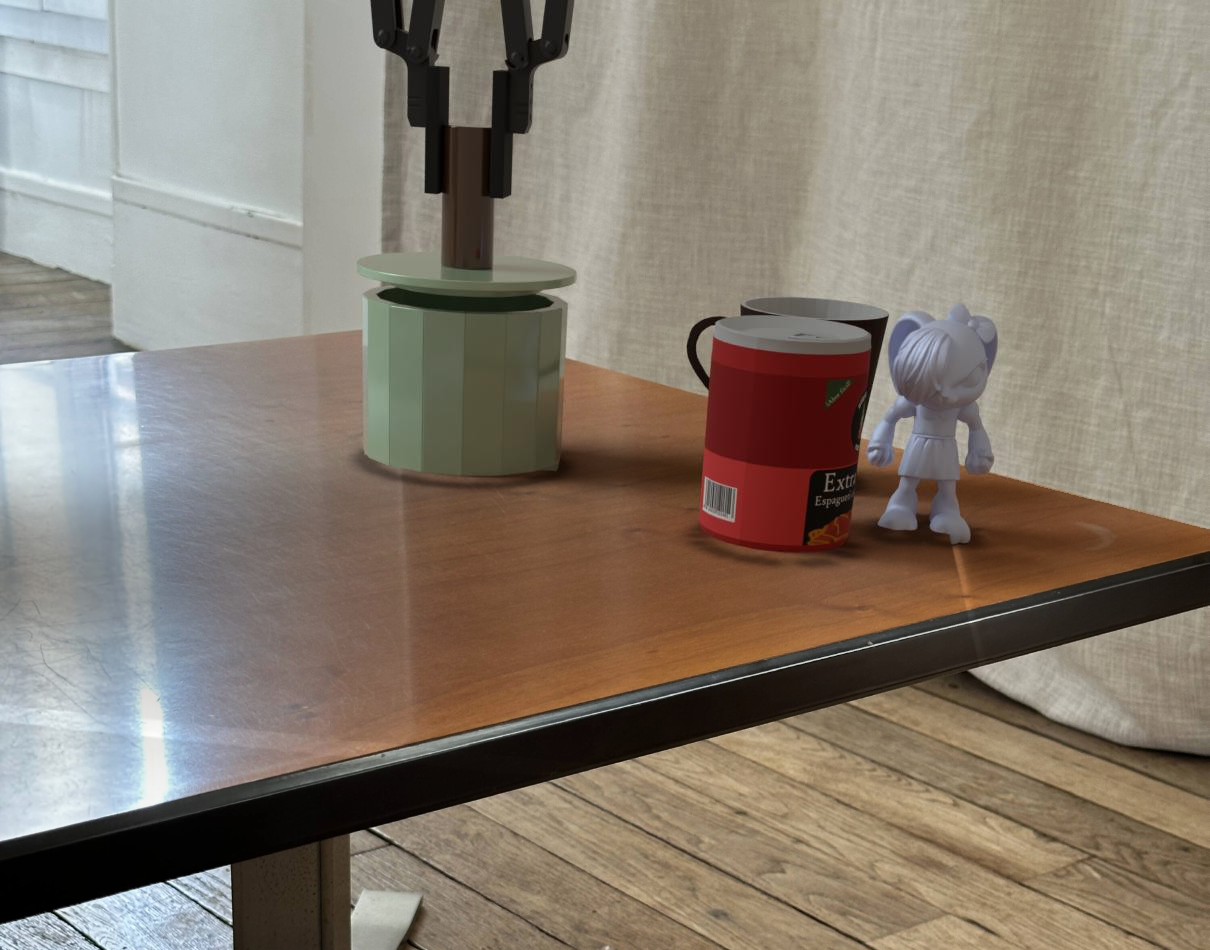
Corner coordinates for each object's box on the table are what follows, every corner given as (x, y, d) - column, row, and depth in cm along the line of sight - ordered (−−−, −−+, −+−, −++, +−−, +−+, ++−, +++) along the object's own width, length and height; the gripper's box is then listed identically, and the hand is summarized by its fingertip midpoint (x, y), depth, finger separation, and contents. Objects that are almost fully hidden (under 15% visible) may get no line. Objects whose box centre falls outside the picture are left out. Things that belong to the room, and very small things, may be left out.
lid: (330, 292, 93) (328, 123, 90) (385, 265, 105) (385, 114, 101) (558, 309, 92) (565, 138, 89) (589, 280, 104) (596, 127, 100)
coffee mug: (898, 488, 102) (920, 316, 98) (788, 502, 98) (806, 322, 94) (775, 446, 111) (790, 287, 107) (668, 457, 107) (679, 291, 102)
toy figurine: (858, 540, 91) (886, 308, 86) (857, 510, 97) (883, 292, 92) (989, 551, 91) (1025, 318, 86) (980, 521, 96) (1013, 301, 91)
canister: (342, 475, 98) (340, 304, 94) (390, 433, 108) (390, 277, 104) (542, 492, 97) (549, 320, 93) (571, 448, 107) (579, 292, 103)
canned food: (834, 570, 86) (860, 346, 81) (680, 549, 88) (696, 329, 83) (859, 534, 92) (884, 325, 88) (715, 515, 94) (732, 309, 90)
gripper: (643, -277, 89) (617, 198, 99) (343, -290, 91) (346, 179, 100) (627, -303, 83) (601, 210, 92) (302, -317, 84) (310, 189, 94)
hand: (468, 193), depth 96 cm, fingers closed on lid, 3 cm apart
